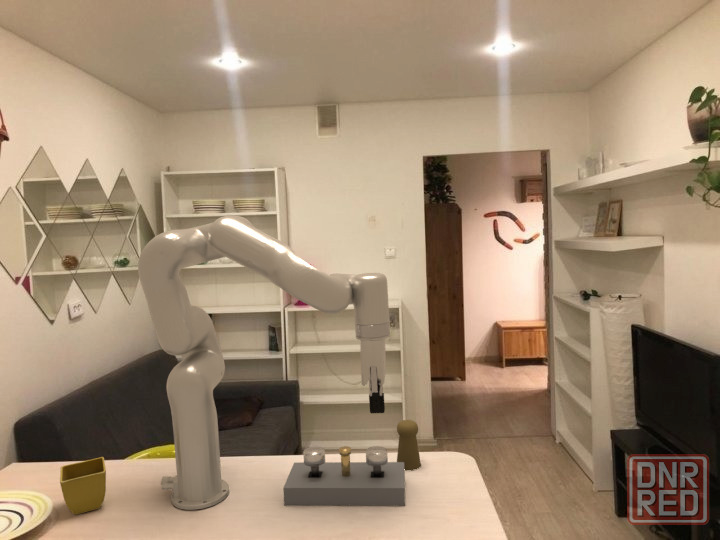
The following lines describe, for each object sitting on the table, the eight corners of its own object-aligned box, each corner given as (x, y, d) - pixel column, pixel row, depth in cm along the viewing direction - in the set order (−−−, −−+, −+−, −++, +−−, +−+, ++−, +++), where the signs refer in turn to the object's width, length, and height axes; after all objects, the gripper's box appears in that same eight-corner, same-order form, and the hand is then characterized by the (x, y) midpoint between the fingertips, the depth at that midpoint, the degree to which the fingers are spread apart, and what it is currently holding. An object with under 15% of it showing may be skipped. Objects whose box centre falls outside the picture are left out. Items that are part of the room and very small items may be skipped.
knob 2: (366, 483, 120) (364, 455, 119) (367, 472, 125) (366, 446, 124) (388, 483, 119) (387, 455, 119) (388, 472, 124) (387, 446, 124)
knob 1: (303, 483, 121) (301, 455, 120) (306, 472, 126) (305, 446, 125) (324, 483, 121) (323, 455, 120) (327, 472, 125) (326, 446, 125)
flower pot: (63, 523, 115) (59, 482, 114) (64, 504, 122) (60, 465, 121) (109, 511, 119) (106, 471, 118) (107, 493, 126) (103, 456, 125)
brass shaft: (339, 477, 121) (338, 451, 121) (341, 471, 124) (339, 446, 123) (351, 477, 121) (350, 451, 120) (352, 471, 124) (351, 446, 123)
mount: (284, 505, 118) (283, 487, 118) (295, 478, 130) (294, 462, 129) (405, 505, 116) (404, 488, 116) (404, 478, 128) (404, 462, 127)
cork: (419, 471, 131) (418, 427, 130) (394, 469, 132) (393, 426, 131) (422, 460, 137) (420, 417, 136) (398, 458, 138) (396, 416, 137)
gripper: (358, 323, 126) (362, 400, 128) (352, 338, 111) (357, 425, 113) (390, 322, 126) (394, 399, 128) (389, 337, 111) (394, 424, 113)
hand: (377, 411), depth 120 cm, fingers closed
